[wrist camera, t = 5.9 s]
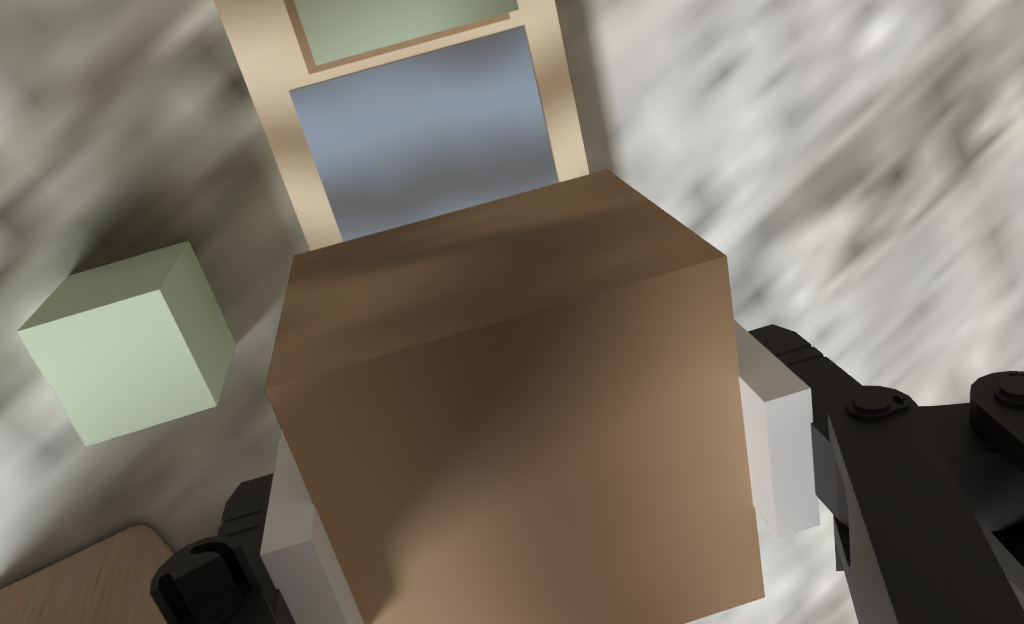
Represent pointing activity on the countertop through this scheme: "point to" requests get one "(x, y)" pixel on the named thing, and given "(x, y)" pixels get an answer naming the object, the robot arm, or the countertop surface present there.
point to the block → (92, 584)
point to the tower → (382, 25)
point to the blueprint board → (410, 119)
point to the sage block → (132, 343)
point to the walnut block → (524, 414)
